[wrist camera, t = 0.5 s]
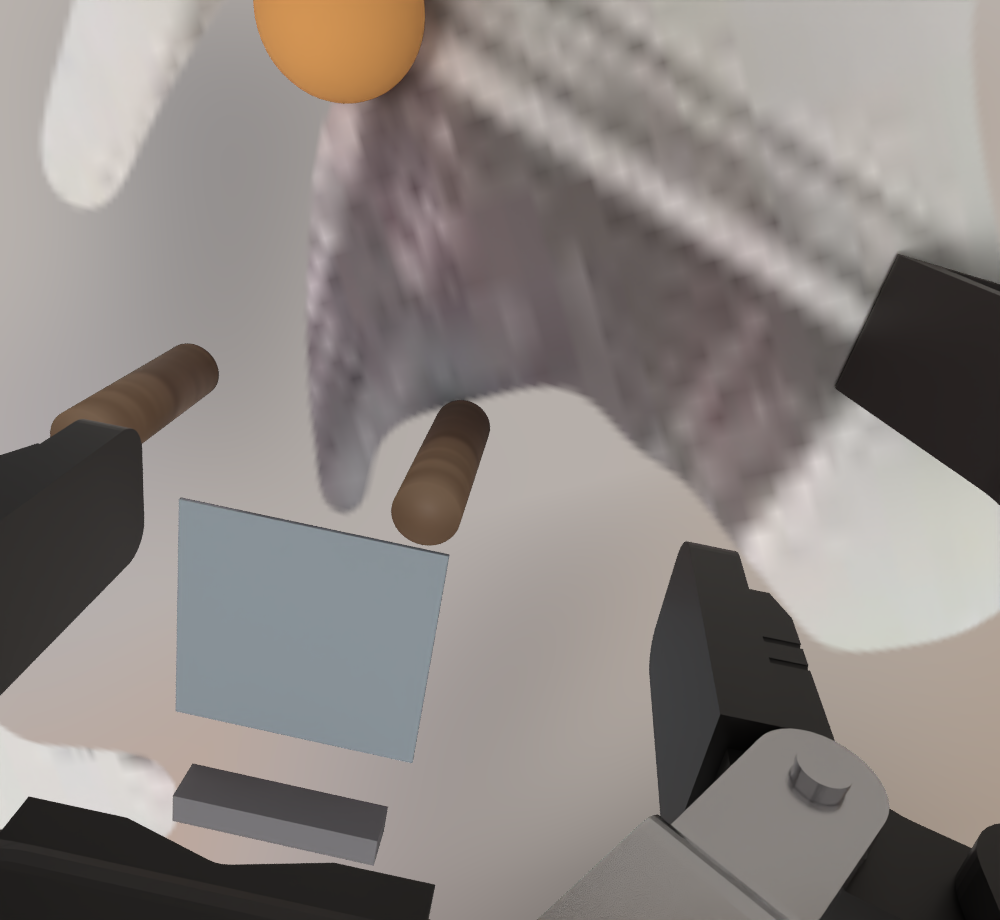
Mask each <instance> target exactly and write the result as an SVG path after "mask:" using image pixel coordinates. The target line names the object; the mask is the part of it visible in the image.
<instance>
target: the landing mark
mask: <svg viewBox="0 0 1000 920" xmlns="http://www.w3.org/2000/svg"><path fill="white" fill-rule="evenodd" d="M178 535H179V536H178V598H177V599H178V600H177V663H176V664H177V665H176V711H177V712H182V713H187V714H191V715H196V716H201V717H205V718H209V719H214V720H218V721H223V722H228V723H232V724H236V725H241V726H246V727H251V728H255V729H259V730H264V731H269V732H273V733H277V734H282V735H287V736H291V737H296V738H301V739H305V740H309V741H314V742H319V743H323V744H328V745H332V746H337V747H341V748H346V749H350V750H355V751H360V752H364V753H369V754H373V755H378V756H383V757H387V758H391V759H396V760H401V761H405V762H410V763H412V762H413V758H414V752H415V746H416V741H417V735H418V729H419V723H420V718H421V712H422V707H423V701H424V696H425V690H426V684H427V679H428V673H429V667H430V661H431V656H432V650H433V645H434V639H435V633H436V628H437V622H438V616H439V611H440V605H441V600H442V594H443V588H444V583H445V577H446V571H447V565H448V559H449V554H444V553H439V552H435V551H430V550H425V549H421V548H416V547H411V546H407V545H402V544H397V543H392V542H388V541H383V540H378V539H374V538H369V537H364V536H360V535H355V534H350V533H345V532H341V531H336V530H331V529H327V528H322V527H317V526H313V525H308V524H303V523H298V522H293V521H289V520H284V519H280V518H275V517H270V516H265V515H261V514H256V513H251V512H247V511H242V510H237V509H232V508H228V507H223V506H218V505H214V504H208V503H204V502H200V501H195V500H190V499H185V498H180V499H179V534H178Z"/></svg>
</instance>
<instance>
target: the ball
mask: <svg viewBox="0 0 1000 920" xmlns="http://www.w3.org/2000/svg"><path fill="white" fill-rule="evenodd" d="M253 2H254V13H255V19H256V24H257V28H258V31H259V34H260V37H261V40H262V42H263V44H264V46H265V48H266V51H267V53H268V54H269V56H270V57H271V59H272V61H273V62H274V64H275V65H276V66H277V67H278V69H279V70H280V71H281V72H282V73H283V74H284V75H285V76H286V77H287V78H288V79H289V80H290V81H291V82H292V83H294V84H295V85H296V86H297V87H299V88H300V89H302V90H303V91H305V92H307V93H308V94H310V95H312V96H315V97H317V98H319V99H323V100H326V101H330V102H335V103H343V104H345V103H359V102H364V101H367V100H371V99H374V98H376V97H378V96H380V95H382V94H384V93H386V92H387V91H389V90H390V89H392V88H393V87H394V86H395V85H396V84H398V83H399V82H400V81H401V80H402V78H403V77H404V76H405V75H406V74H407V72H408V71H409V69H410V68H411V66H412V64H413V63H414V61H415V59H416V56H417V54H418V52H419V49H420V46H421V42H422V38H423V33H424V24H425V7H424V0H253Z"/></svg>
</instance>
